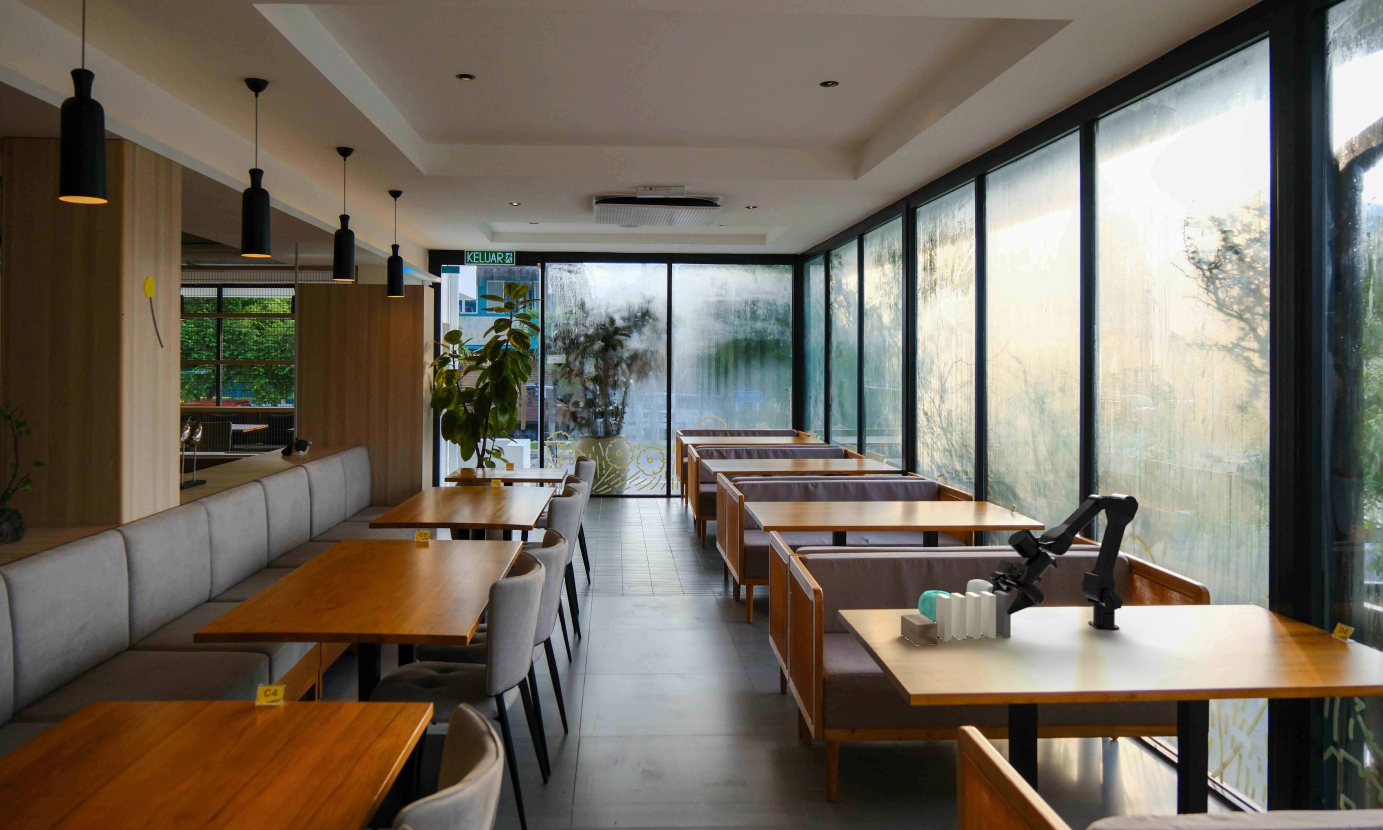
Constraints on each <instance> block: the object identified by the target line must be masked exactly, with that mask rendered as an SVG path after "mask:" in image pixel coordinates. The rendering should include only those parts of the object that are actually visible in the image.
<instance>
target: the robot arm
mask: <svg viewBox="0 0 1383 830" xmlns="http://www.w3.org/2000/svg"><path fill="white" fill-rule="evenodd" d="M1138 509H1139V502H1138V500H1137V499H1136V498H1135V497H1134V496H1132V495H1127V494H1121V493H1111V494H1110V495H1099V494H1098V495H1097V494H1090V495H1089V496H1087V498H1086V500H1084V502H1083V503H1081V504H1080V505H1079V507H1077V509H1076V510H1074V511H1073V513H1072V514H1070V515H1069V516H1068V517H1067V518H1066V519H1065V520H1064V521H1063V522H1062V523H1060V524H1059V525H1056V526H1055V527H1051V528H1049V529H1048V530H1046V531H1045V532H1044V533H1042V534H1041V535H1040V536H1038V537H1035V535H1034V534H1033V533H1032V532H1031V530H1030V529H1029V528H1026V527H1023V528H1021V530H1018V531H1016V532H1014V533H1012V534H1011V535H1010V536H1009V538H1008V541H1007V543H1008V545H1009V546H1010V547H1011V548H1012V549H1013V550H1014V551H1015V552H1016V553H1017V554H1018V555H1019V556H1020V557H1021V559H1025V560H1024V561H1023V563H1021V562H1019V561H1014V562H1010V561H1007V560H1004V559H1000V560H999V562H998V565H997V567H996V570H998V571H993V572H992V574H991V575H990V576H989V578H990V582H991V583H992V585H993V590H992V594H994V591H1003V592H1005V593H1008V594H1010V592H1012V591H1013V590H1015V591H1017V593H1016V597H1015V598H1014V600H1013V601H1012V602H1011V606H1010V607H1009V609H1008V610H1007V614H1008V615H1011V616H1012V615H1013V614H1015V613H1017V612H1020V611H1022V610H1025V609H1027V608H1030V607H1033V606H1034V607H1036V606H1038V605H1040V606H1041V605H1042V604H1043V603H1044V602H1045V600H1046V597H1045V595H1046V594H1044V593H1043V592H1042V591H1041V590H1040V589H1039V588H1038V587H1037V585H1036V583H1040V582H1041V581H1043V580H1042V578H1041V577H1042V575H1043V574H1044V573H1045V571H1046V570H1047V569H1048V568H1049V567H1050V568H1054V569H1057V568H1058V563H1057V558H1056V557H1052V556H1051V555H1050V554H1052V555H1056V556H1064V555H1065V554H1066V553H1068V550H1069V549H1070V548H1071V547H1072V546H1073V543H1074V539H1075V537H1076V536H1077V535H1078V533H1080V532H1081V531H1082V530H1083V529H1084V528H1085V527H1086V526H1087V525H1088V524H1089V523H1090V522H1092V520H1093V519H1094V518H1095V517H1096V516H1097V515H1099V514H1100V513H1101V511H1103V510H1104V513H1105V518H1106V526H1105V529H1104V532H1103V533H1104V534H1103V536H1102V541H1101V545H1100V548H1099V552H1098V554H1097V555H1098V556H1097V558H1096V559H1097V560H1096V562H1095V566H1094V569H1093V570H1091V572H1087V571H1086V572H1084V576H1083V580H1082V582H1081V584H1080V585H1081V586H1082V591H1081V592H1082V593H1083V595H1084V596H1085V598H1086V602H1087V603H1088V604H1092V620H1089V621H1088V624H1089V625H1091V626H1092V627H1094V628H1096V629H1098V630H1099V629H1100V630H1105V629H1106V630H1120V628H1121V627H1119V626H1118V625H1117V624H1115V623H1116V619H1115V618H1116V614H1115V613H1116V611H1117V610H1118V609H1119V610H1121V609H1122V605H1123V603H1124V601H1123V599H1121V598H1120V597H1119V595H1117V594H1116V593H1115V592H1116V585H1117V584H1116V581H1115V578H1114V572H1115V567H1116V564H1117V560H1118V557H1119V552H1120V550H1121V545H1122V542H1123V538H1124V535H1125V531H1126V528H1127V526H1128V525H1129V524H1130V523H1132V521H1133V520H1134V519H1135V516H1136V514H1137V513H1138ZM1000 571H1001V572H1000ZM1005 573H1006V574H1005Z"/></svg>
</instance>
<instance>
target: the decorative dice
mask: <svg viewBox="0 0 1383 830" xmlns="http://www.w3.org/2000/svg"><path fill="white" fill-rule="evenodd" d="M936 594H944V595H947V596H949V597H951V593H949V592H947V591H944V590H933V589H932V590H926V591H924V592H923V593H922V594H921V595H920V596H919V600H918V603H917V604H918V605H917V606H918V607H917V608H918V613H919V614H921V615H923V616H925V617H927V618H928V619H930V620H932V621H934V622H936Z"/></svg>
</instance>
